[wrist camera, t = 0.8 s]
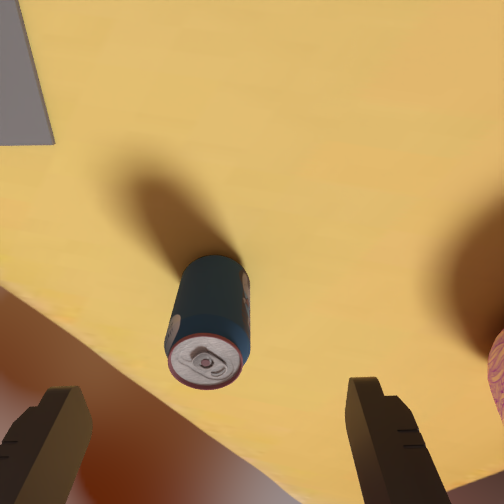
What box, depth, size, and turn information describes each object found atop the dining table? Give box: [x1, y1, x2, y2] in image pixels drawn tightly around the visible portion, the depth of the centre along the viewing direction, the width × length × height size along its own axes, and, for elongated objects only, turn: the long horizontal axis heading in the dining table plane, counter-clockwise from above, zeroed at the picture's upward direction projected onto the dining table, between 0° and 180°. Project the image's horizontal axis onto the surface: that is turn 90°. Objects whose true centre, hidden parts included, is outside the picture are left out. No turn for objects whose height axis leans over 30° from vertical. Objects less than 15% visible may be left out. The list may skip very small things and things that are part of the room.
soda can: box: [164, 255, 250, 390], centre depth 34 cm, size 7×7×12 cm
